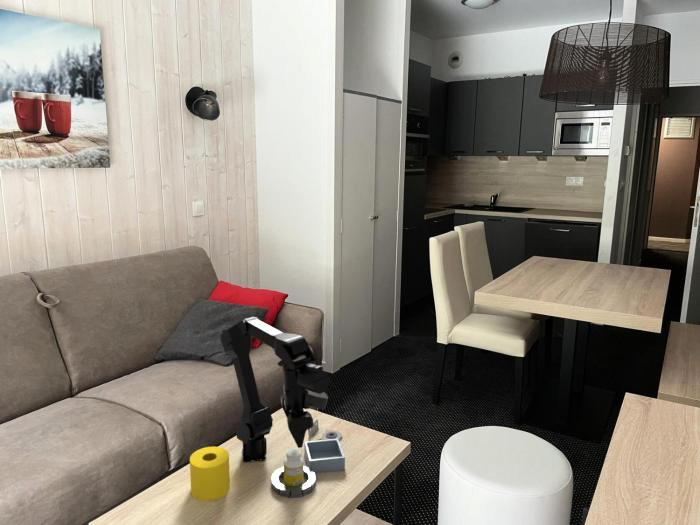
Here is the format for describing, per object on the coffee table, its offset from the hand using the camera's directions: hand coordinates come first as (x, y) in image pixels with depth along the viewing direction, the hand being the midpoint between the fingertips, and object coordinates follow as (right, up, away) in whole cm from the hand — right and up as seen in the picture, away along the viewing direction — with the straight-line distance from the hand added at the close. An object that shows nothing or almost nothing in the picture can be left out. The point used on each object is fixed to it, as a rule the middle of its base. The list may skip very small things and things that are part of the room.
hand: (297, 439), depth 144 cm
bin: (+6, -11, +13) cm, 18 cm away
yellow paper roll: (-23, -13, -1) cm, 27 cm away
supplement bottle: (-1, -13, +2) cm, 14 cm away
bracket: (+6, -8, +28) cm, 30 cm away
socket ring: (-1, -13, +2) cm, 13 cm away
